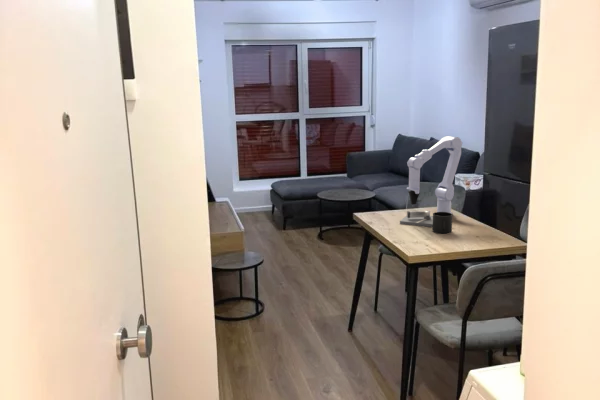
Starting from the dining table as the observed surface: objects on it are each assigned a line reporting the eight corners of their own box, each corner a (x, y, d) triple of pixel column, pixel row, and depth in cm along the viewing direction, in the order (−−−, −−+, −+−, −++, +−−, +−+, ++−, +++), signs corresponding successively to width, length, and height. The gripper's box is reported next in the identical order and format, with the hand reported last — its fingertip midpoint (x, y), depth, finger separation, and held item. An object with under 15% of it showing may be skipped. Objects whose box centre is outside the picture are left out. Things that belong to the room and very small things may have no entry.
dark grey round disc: (424, 217, 294) (424, 216, 293) (431, 218, 292) (431, 216, 292) (423, 219, 290) (423, 217, 290) (429, 219, 289) (429, 218, 289)
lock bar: (429, 216, 292) (429, 210, 292) (430, 217, 290) (430, 211, 289) (406, 216, 292) (406, 211, 291) (408, 218, 289) (408, 212, 288)
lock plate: (408, 216, 303) (408, 213, 302) (448, 220, 293) (448, 217, 293) (399, 223, 287) (399, 220, 287) (441, 228, 278) (441, 224, 277)
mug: (433, 235, 265) (434, 217, 263) (431, 228, 277) (432, 211, 275) (453, 235, 264) (454, 217, 262) (450, 229, 276) (451, 211, 274)
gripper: (403, 177, 299) (403, 201, 302) (410, 182, 285) (409, 207, 288) (416, 177, 300) (415, 201, 302) (423, 181, 285) (422, 207, 288)
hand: (413, 204), depth 295 cm, fingers closed
